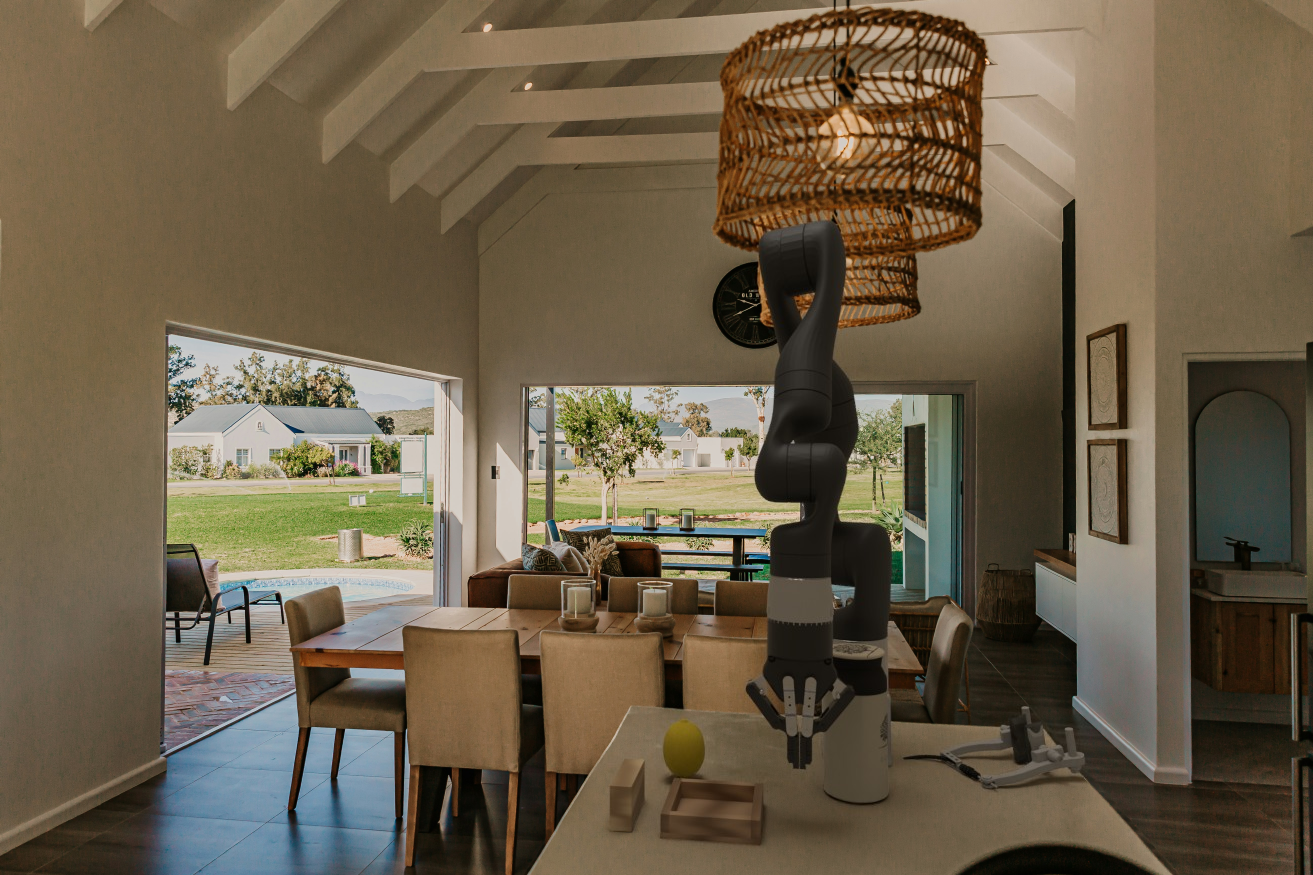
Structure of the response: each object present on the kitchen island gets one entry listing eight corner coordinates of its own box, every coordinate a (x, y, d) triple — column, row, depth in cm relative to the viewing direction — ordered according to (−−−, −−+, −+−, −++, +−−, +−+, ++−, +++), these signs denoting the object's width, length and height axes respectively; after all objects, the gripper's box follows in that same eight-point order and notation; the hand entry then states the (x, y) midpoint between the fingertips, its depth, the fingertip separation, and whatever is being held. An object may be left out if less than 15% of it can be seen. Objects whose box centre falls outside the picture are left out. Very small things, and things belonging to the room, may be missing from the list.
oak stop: (644, 800, 103) (644, 759, 104) (631, 831, 95) (631, 786, 95) (624, 799, 104) (624, 758, 104) (609, 830, 95) (609, 785, 95)
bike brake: (1031, 744, 122) (905, 775, 118) (1024, 698, 122) (898, 727, 118) (1096, 780, 109) (957, 816, 105) (1088, 728, 109) (949, 762, 105)
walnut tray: (763, 808, 102) (763, 783, 102) (759, 848, 91) (759, 820, 91) (674, 802, 104) (674, 777, 104) (660, 841, 93) (660, 813, 93)
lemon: (701, 789, 107) (701, 726, 107) (659, 786, 108) (659, 723, 108) (707, 773, 112) (707, 713, 113) (667, 770, 114) (667, 711, 114)
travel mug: (812, 794, 105) (811, 650, 106) (840, 776, 112) (838, 640, 112) (873, 810, 100) (871, 659, 101) (898, 790, 107) (896, 647, 107)
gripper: (856, 612, 100) (856, 760, 99) (744, 607, 102) (743, 752, 101) (860, 622, 92) (860, 782, 91) (740, 617, 94) (739, 773, 94)
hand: (799, 766), depth 96 cm, fingers closed
